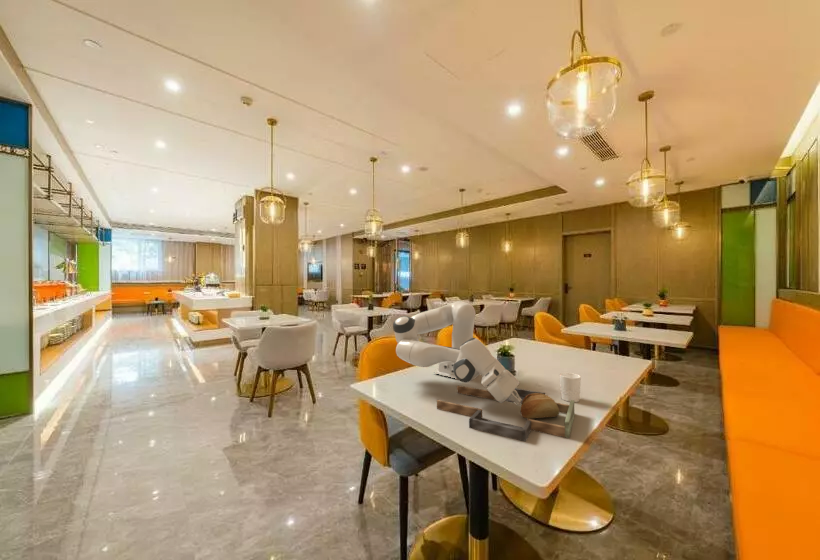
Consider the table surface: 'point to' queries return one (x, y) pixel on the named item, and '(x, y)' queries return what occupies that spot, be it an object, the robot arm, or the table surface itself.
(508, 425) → the box
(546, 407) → the bread roll
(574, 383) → the white cup
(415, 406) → the table surface
